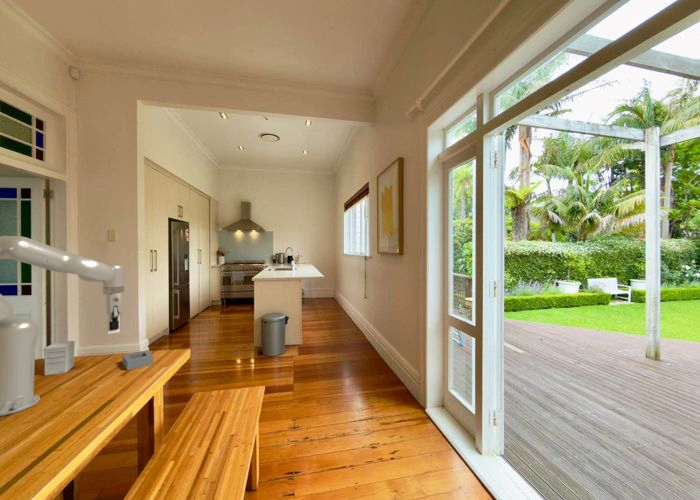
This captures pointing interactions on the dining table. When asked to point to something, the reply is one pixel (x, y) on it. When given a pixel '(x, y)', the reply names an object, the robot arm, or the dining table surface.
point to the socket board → (137, 359)
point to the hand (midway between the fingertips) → (113, 328)
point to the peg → (109, 324)
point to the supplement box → (59, 357)
